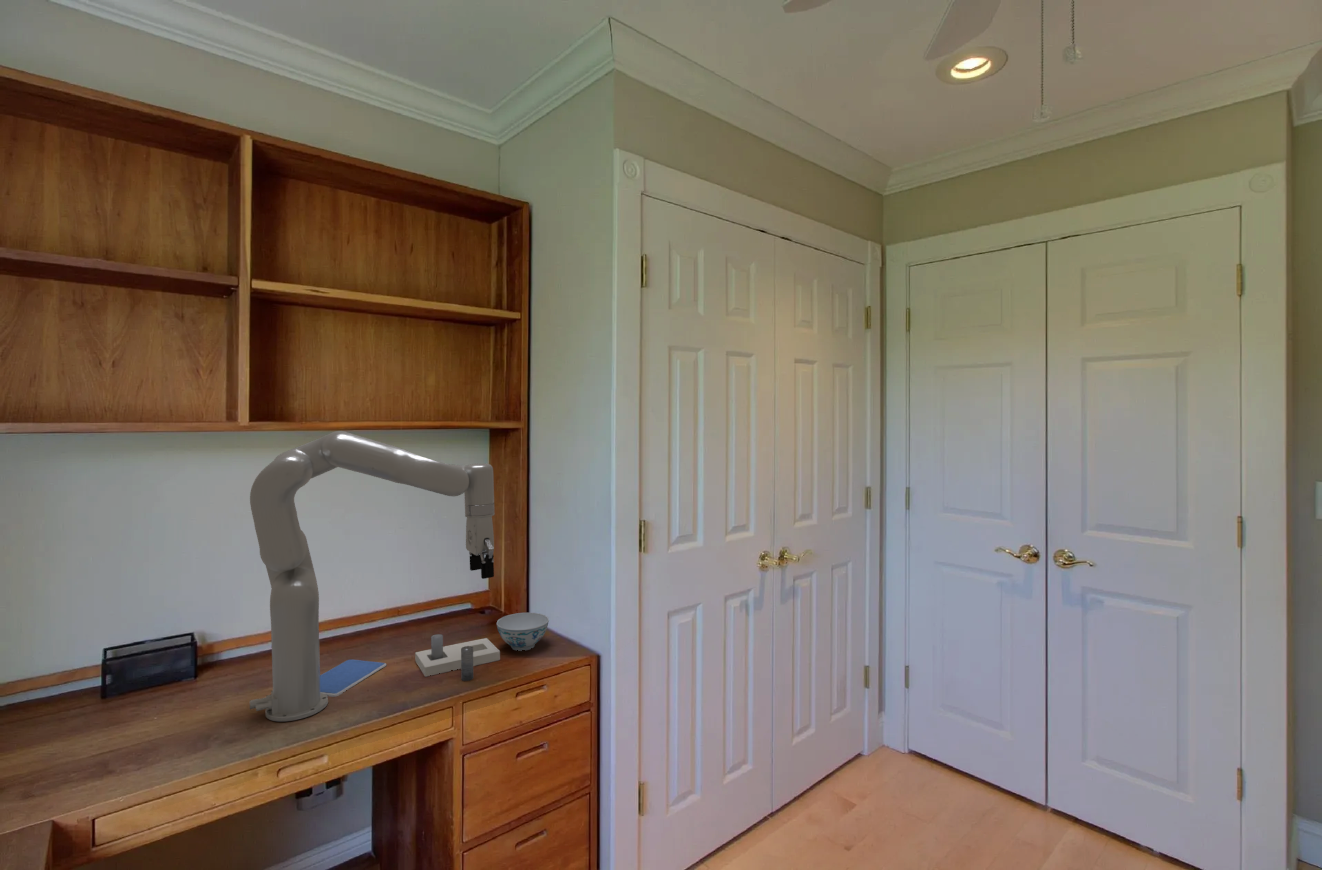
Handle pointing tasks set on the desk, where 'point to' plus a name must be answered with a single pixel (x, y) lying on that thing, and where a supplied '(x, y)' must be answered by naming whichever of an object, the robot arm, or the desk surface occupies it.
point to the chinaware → (522, 629)
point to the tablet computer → (347, 676)
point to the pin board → (453, 655)
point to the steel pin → (467, 663)
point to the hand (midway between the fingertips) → (481, 573)
